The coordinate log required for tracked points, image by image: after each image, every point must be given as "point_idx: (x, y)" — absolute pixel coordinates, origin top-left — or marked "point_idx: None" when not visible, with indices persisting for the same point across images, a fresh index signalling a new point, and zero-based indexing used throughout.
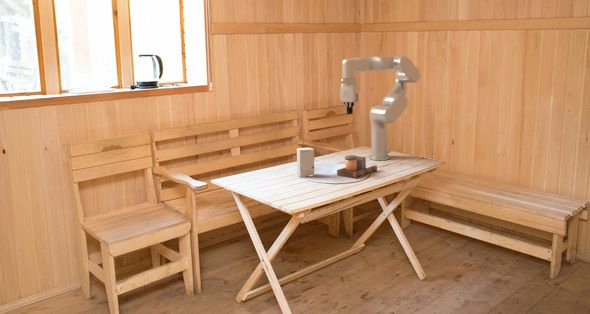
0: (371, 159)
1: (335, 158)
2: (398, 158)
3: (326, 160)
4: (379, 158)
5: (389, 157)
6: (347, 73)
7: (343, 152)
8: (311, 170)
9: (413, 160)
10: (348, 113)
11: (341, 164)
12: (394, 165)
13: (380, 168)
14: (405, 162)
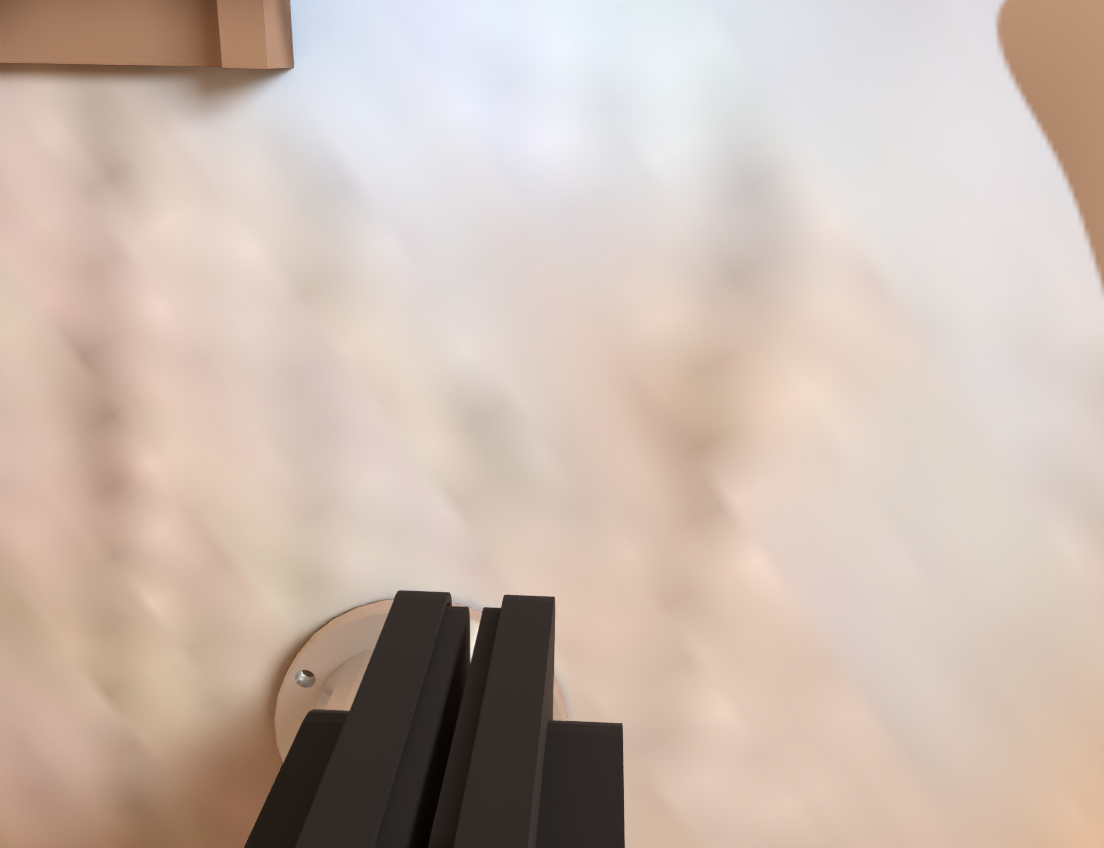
0: (458, 604)
1: (997, 441)
2: (222, 820)
3: (1063, 255)
4: (342, 639)
5: (280, 755)
6: None
7: (1085, 807)
8: None
9: (8, 808)
10: (444, 604)
11: (681, 141)
12: (5, 478)
13: (32, 229)
14: (11, 681)
